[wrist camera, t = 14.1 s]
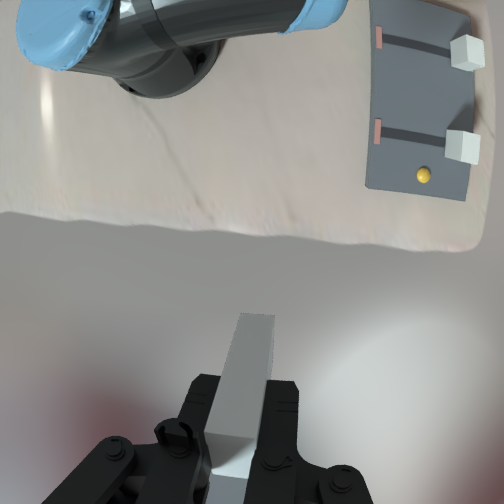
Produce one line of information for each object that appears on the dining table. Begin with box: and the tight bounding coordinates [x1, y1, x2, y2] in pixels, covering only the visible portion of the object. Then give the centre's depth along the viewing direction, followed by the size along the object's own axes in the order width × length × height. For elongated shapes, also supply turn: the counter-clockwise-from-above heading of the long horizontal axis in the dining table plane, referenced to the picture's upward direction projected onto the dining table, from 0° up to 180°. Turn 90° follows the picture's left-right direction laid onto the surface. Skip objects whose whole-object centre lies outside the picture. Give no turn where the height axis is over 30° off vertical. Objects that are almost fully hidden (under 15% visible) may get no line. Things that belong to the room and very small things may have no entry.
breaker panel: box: [365, 0, 474, 201], centre depth 31 cm, size 26×14×2 cm, turn 179°
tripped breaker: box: [445, 130, 480, 165], centre depth 30 cm, size 4×2×4 cm
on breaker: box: [450, 34, 485, 71], centre depth 26 cm, size 4×2×4 cm
